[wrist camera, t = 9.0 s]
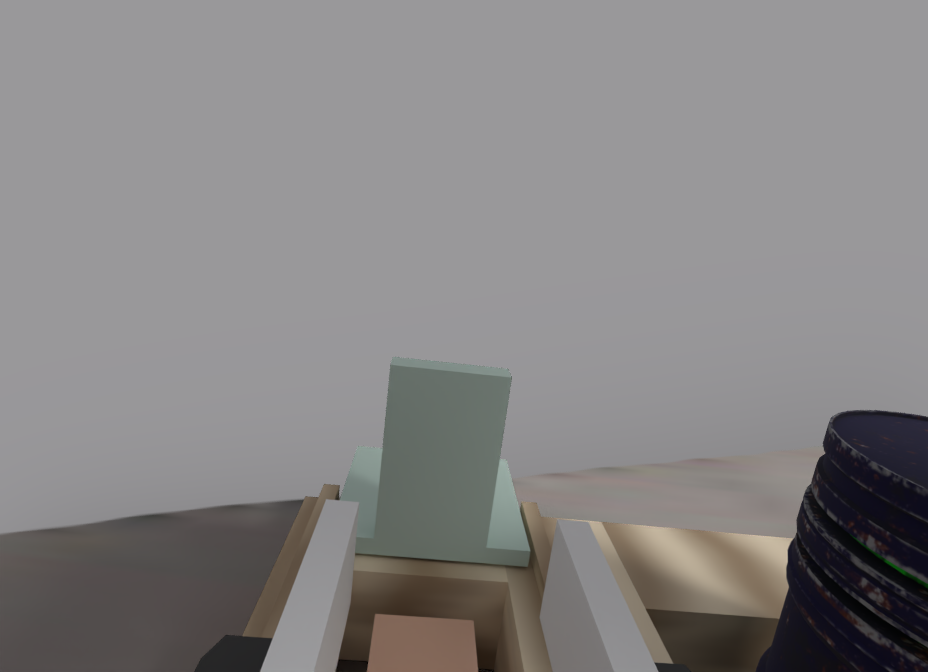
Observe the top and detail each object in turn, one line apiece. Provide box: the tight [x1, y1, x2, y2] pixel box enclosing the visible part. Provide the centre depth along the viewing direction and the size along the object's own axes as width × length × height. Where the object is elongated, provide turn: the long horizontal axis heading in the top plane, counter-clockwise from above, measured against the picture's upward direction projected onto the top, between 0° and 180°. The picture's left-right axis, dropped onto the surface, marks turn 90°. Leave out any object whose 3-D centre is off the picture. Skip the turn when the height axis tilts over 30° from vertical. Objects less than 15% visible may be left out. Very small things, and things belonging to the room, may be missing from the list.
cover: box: [340, 357, 530, 567], centre depth 28 cm, size 9×9×9 cm
